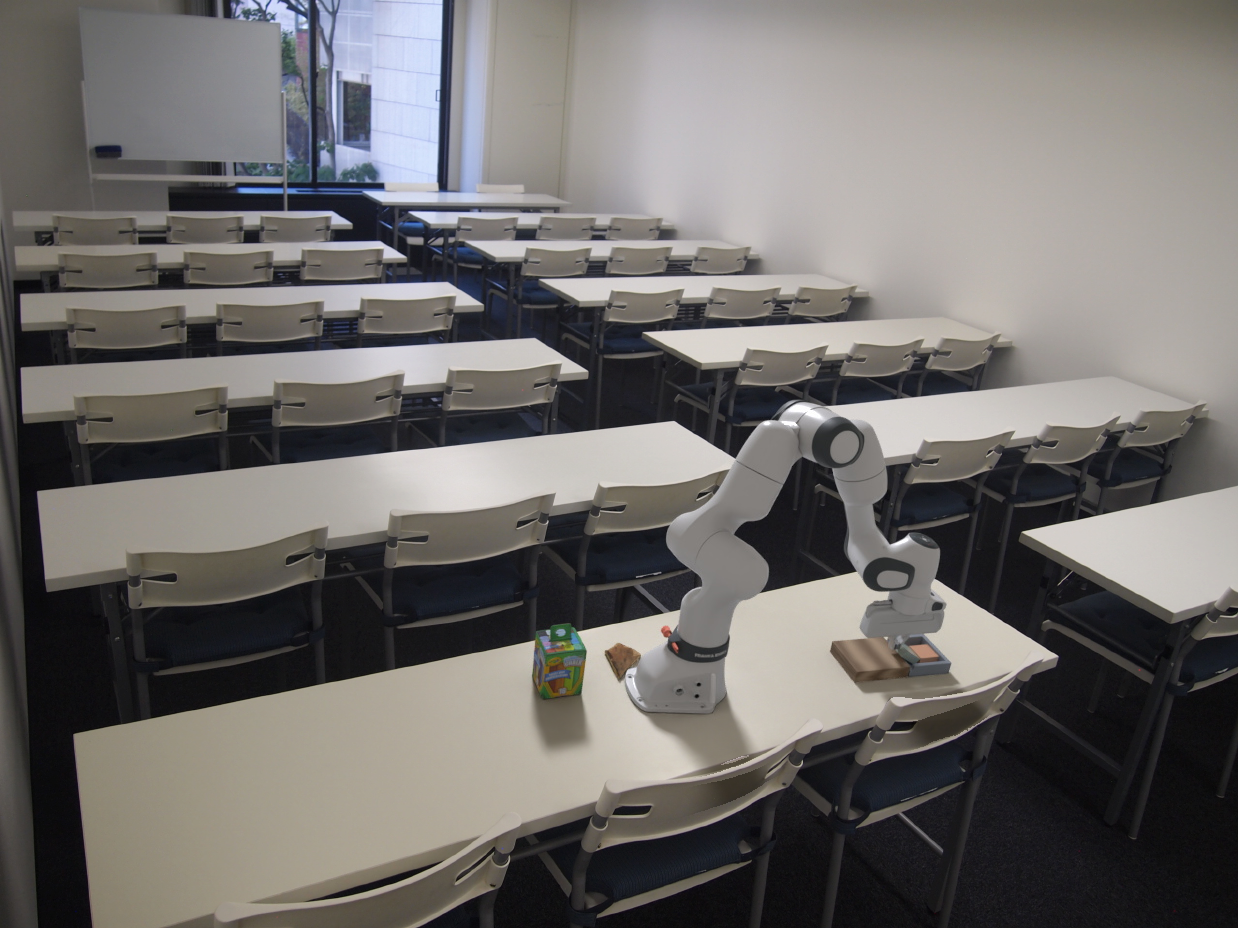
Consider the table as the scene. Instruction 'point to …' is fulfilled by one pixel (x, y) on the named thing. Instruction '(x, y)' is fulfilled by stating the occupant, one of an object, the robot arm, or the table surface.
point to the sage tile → (908, 654)
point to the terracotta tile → (924, 653)
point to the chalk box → (559, 661)
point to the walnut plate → (869, 659)
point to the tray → (930, 667)
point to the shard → (621, 658)
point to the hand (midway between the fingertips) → (894, 648)
